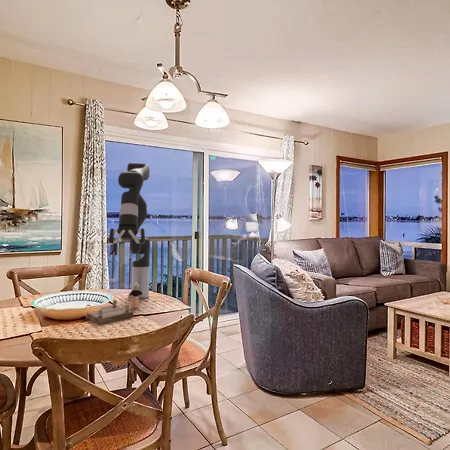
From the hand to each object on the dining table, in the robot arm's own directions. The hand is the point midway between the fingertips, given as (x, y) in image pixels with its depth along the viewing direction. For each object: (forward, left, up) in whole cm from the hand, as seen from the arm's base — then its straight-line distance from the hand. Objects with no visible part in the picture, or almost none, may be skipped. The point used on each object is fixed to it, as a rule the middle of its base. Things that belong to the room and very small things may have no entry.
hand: (126, 253), depth 146 cm
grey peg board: (-18, +2, -30) cm, 35 cm away
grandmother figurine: (-22, +19, -31) cm, 42 cm away
